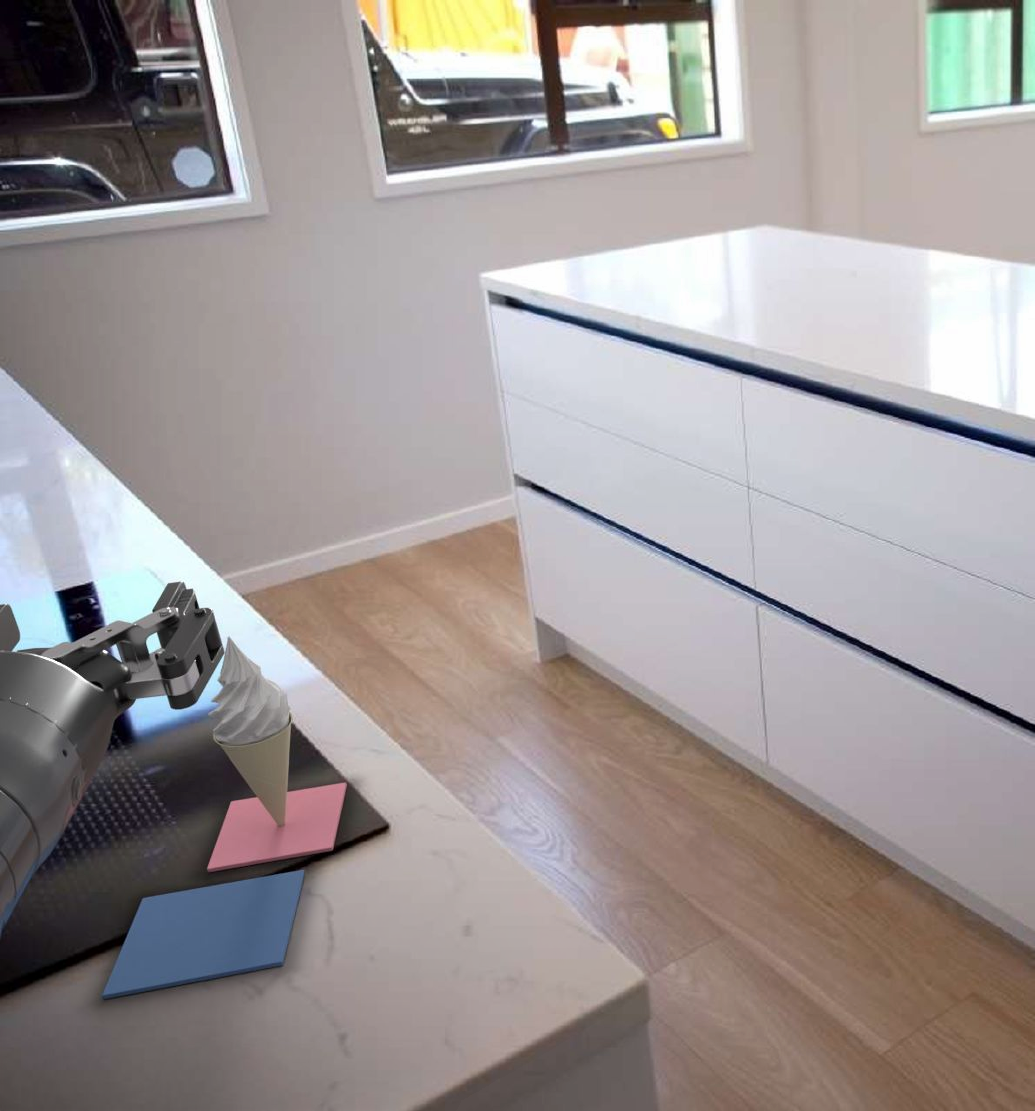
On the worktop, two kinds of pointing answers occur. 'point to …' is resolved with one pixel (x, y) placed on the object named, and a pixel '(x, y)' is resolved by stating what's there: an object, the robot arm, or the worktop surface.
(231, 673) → the ice cream cone
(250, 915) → the blue mat
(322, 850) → the rose mat
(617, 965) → the worktop surface
